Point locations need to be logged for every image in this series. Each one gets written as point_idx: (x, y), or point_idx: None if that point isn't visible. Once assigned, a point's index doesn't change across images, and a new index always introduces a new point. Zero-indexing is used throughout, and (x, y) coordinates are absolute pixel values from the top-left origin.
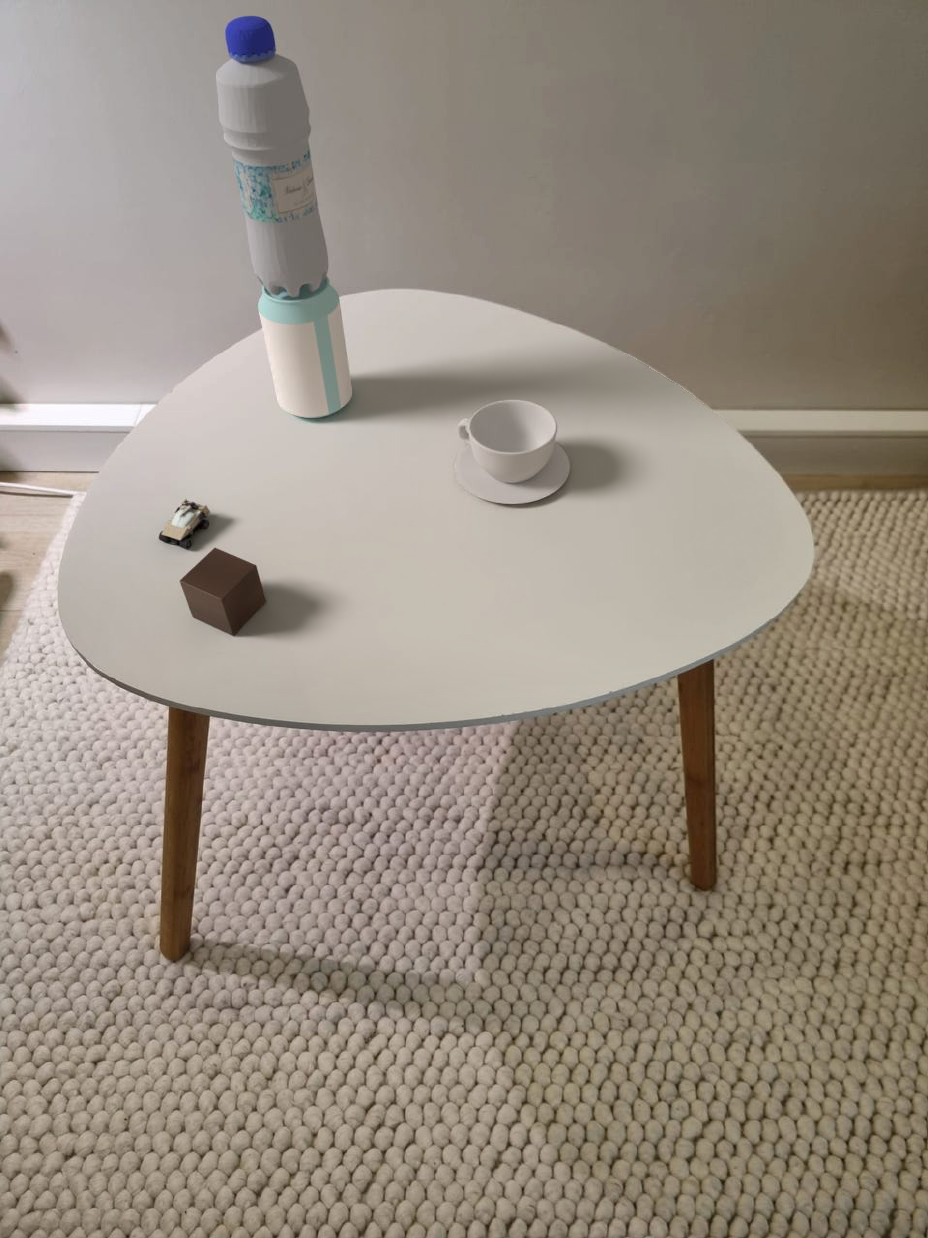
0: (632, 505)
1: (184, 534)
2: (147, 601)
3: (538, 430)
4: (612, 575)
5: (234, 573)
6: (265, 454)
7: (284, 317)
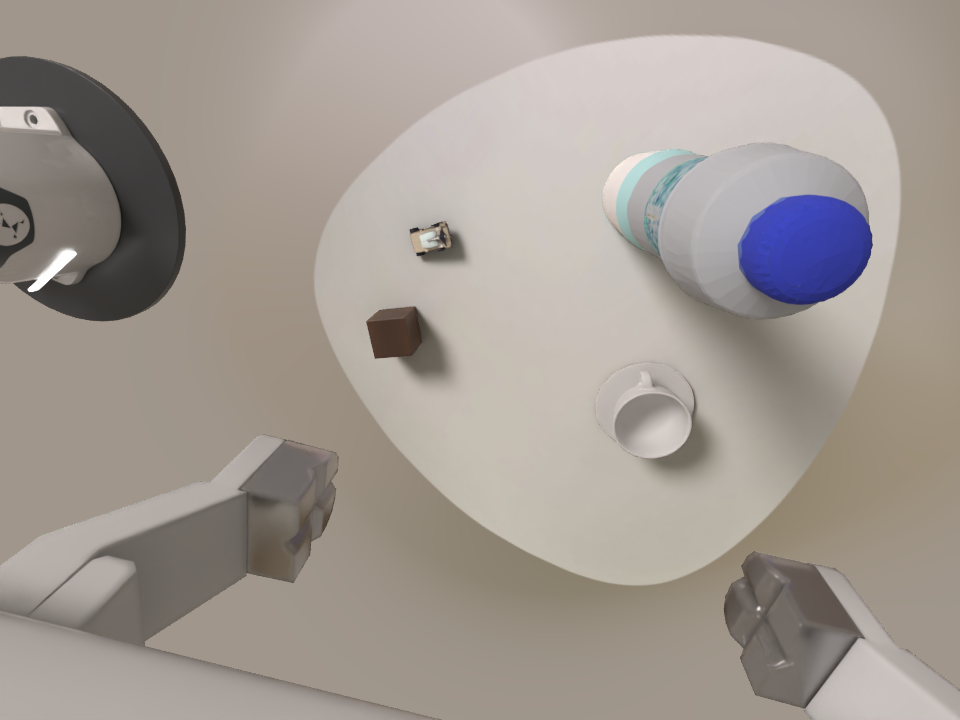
0: (651, 489)
1: (420, 251)
2: (367, 270)
3: (678, 422)
4: (579, 505)
5: (396, 348)
6: (546, 215)
7: (622, 223)
